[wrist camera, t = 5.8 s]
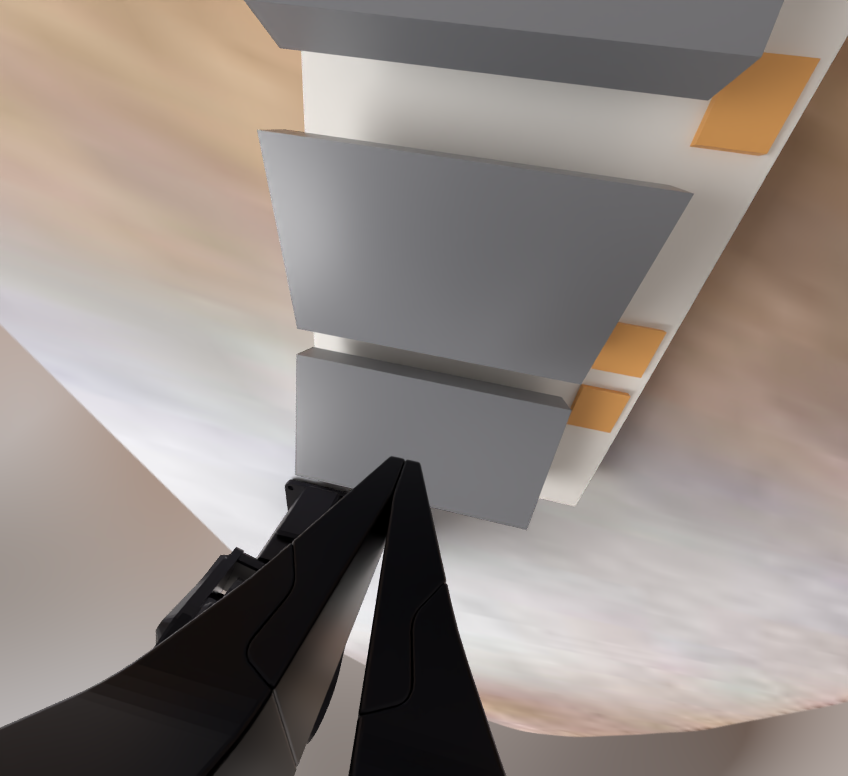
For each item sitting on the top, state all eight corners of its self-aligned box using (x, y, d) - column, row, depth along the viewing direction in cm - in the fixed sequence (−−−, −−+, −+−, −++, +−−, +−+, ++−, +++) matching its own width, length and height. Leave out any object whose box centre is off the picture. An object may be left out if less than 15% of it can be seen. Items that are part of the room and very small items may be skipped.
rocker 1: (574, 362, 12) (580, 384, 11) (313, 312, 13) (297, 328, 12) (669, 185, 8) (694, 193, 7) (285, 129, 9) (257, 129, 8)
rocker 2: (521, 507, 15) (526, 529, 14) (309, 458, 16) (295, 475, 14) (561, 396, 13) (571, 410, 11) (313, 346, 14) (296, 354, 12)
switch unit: (562, 468, 19) (581, 525, 16) (339, 419, 21) (308, 461, 17) (877, -159, 8) (1200, -470, 4) (339, -190, 9) (246, -459, 6)
